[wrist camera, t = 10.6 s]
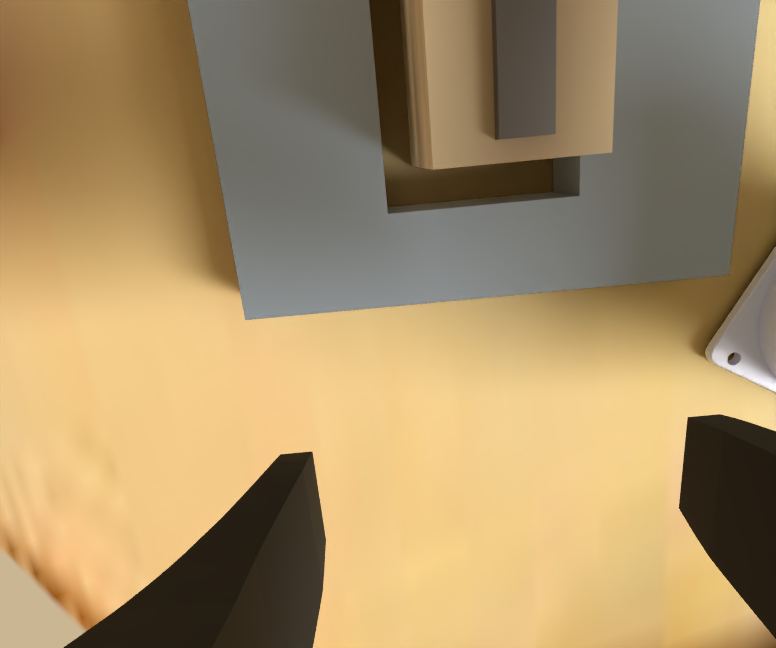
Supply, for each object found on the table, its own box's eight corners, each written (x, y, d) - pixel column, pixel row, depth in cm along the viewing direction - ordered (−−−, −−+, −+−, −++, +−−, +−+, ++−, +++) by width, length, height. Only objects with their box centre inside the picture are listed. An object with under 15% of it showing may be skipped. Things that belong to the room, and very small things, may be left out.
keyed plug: (522, -44, 16) (635, -198, 9) (524, 155, 18) (620, 152, 11) (396, -31, 16) (414, -177, 9) (411, 166, 18) (435, 170, 11)
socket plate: (726, -210, 15) (792, -280, 13) (685, 261, 19) (729, 275, 17) (183, -157, 15) (147, -217, 13) (261, 300, 19) (245, 320, 17)
